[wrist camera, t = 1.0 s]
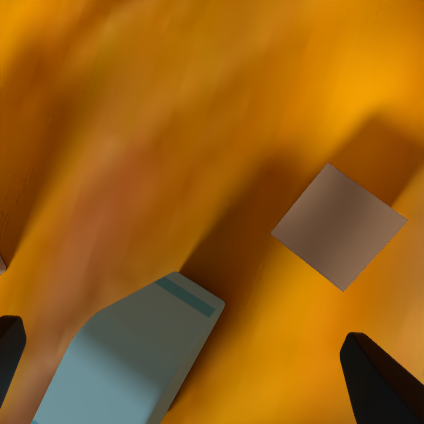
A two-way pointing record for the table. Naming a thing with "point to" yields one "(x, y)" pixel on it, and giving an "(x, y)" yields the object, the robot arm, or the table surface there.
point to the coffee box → (2, 266)
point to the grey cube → (337, 227)
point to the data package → (132, 356)
